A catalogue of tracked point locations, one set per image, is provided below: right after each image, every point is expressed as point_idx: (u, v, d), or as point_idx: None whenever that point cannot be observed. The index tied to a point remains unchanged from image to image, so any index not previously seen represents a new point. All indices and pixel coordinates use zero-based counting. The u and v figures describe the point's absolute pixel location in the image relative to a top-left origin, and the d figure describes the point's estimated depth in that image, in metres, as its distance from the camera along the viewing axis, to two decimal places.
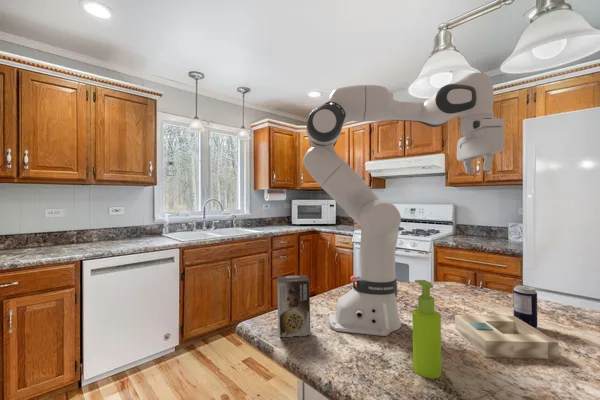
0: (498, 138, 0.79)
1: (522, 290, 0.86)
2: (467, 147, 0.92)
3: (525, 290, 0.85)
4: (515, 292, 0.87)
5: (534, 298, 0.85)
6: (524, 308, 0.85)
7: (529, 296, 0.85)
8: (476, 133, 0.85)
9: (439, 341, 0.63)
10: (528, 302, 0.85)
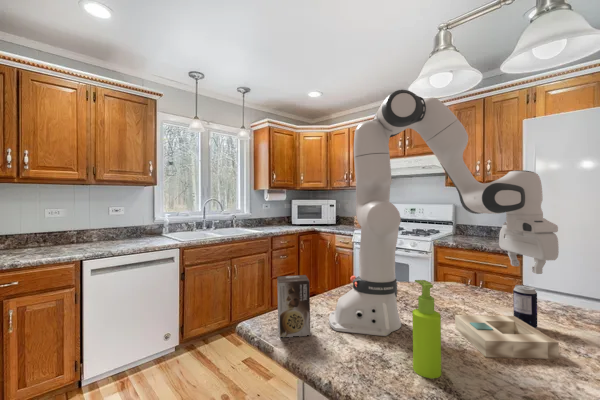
0: (553, 247, 0.78)
1: (522, 290, 0.86)
2: (513, 241, 0.90)
3: (525, 290, 0.85)
4: (515, 292, 0.87)
5: (534, 298, 0.85)
6: (524, 308, 0.85)
7: (529, 296, 0.85)
8: (526, 235, 0.83)
9: (439, 341, 0.63)
10: (528, 302, 0.85)
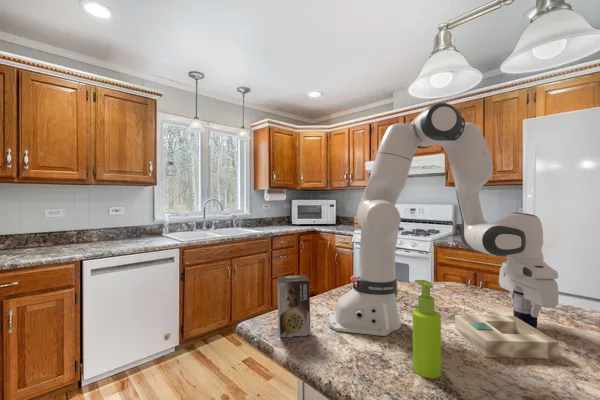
0: (553, 294, 0.77)
1: None
2: (513, 282, 0.90)
3: None
4: (515, 292, 0.87)
5: None
6: (524, 308, 0.85)
7: None
8: (526, 279, 0.83)
9: (439, 341, 0.63)
10: (528, 302, 0.85)
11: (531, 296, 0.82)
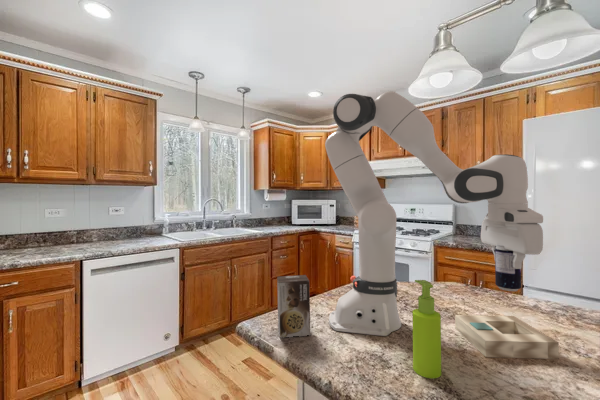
0: (537, 239, 0.68)
1: None
2: (495, 234, 0.81)
3: None
4: (497, 250, 0.78)
5: None
6: (507, 267, 0.76)
7: (512, 253, 0.76)
8: (508, 226, 0.74)
9: (439, 341, 0.63)
10: (511, 260, 0.76)
11: (513, 244, 0.73)
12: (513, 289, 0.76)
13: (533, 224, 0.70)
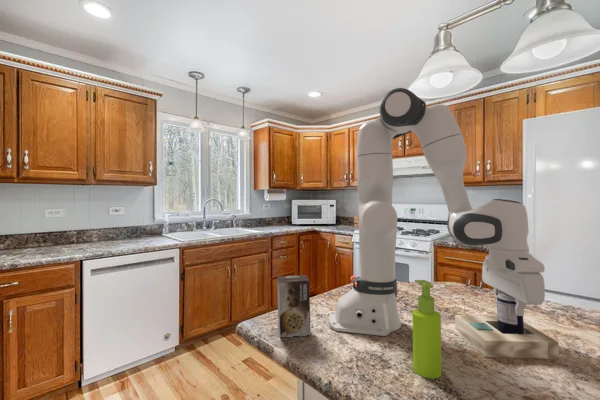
0: (538, 290, 0.68)
1: (506, 297, 0.76)
2: (496, 277, 0.81)
3: (509, 297, 0.76)
4: (499, 300, 0.78)
5: None
6: (509, 318, 0.76)
7: (514, 304, 0.75)
8: (509, 273, 0.74)
9: (439, 341, 0.63)
10: None
11: (515, 292, 0.73)
12: None
13: (534, 273, 0.70)
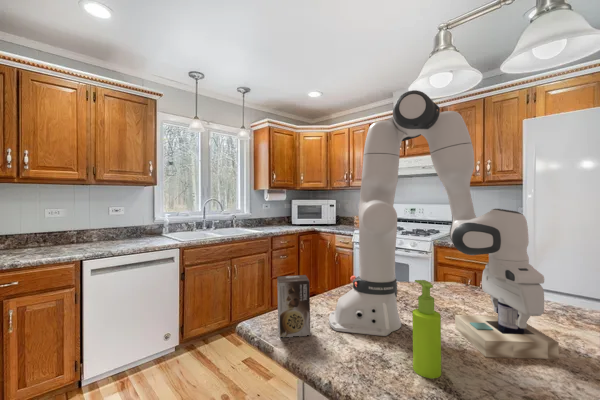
0: (538, 301, 0.68)
1: None
2: (496, 286, 0.81)
3: None
4: (500, 303, 0.78)
5: None
6: (510, 322, 0.76)
7: None
8: (509, 283, 0.74)
9: (439, 341, 0.63)
10: (514, 315, 0.75)
11: (514, 303, 0.73)
12: None
13: (534, 285, 0.70)
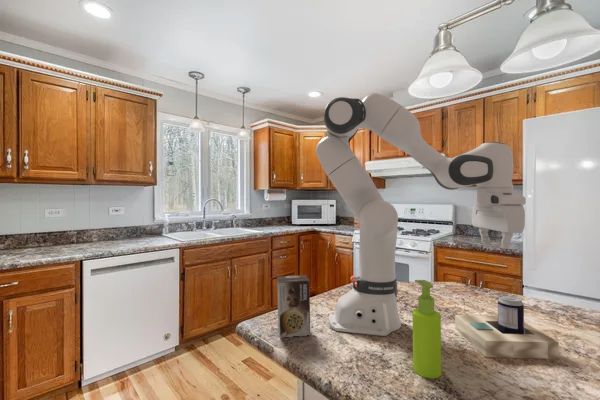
0: (519, 219, 0.75)
1: (507, 301, 0.76)
2: (484, 217, 0.87)
3: (510, 301, 0.76)
4: (500, 303, 0.78)
5: (520, 311, 0.75)
6: (510, 322, 0.76)
7: (515, 308, 0.75)
8: (494, 208, 0.80)
9: (439, 341, 0.63)
10: (514, 315, 0.75)
11: (499, 225, 0.79)
12: None
13: (516, 205, 0.76)
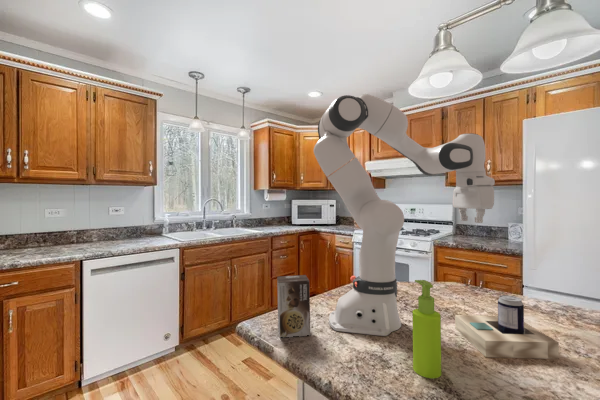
0: (489, 197, 0.89)
1: (507, 301, 0.76)
2: (462, 198, 1.02)
3: (510, 301, 0.76)
4: (500, 303, 0.78)
5: (520, 311, 0.75)
6: (510, 322, 0.76)
7: (515, 308, 0.75)
8: (469, 189, 0.95)
9: (439, 341, 0.63)
10: (514, 315, 0.75)
11: (473, 203, 0.94)
12: None
13: (487, 186, 0.91)
